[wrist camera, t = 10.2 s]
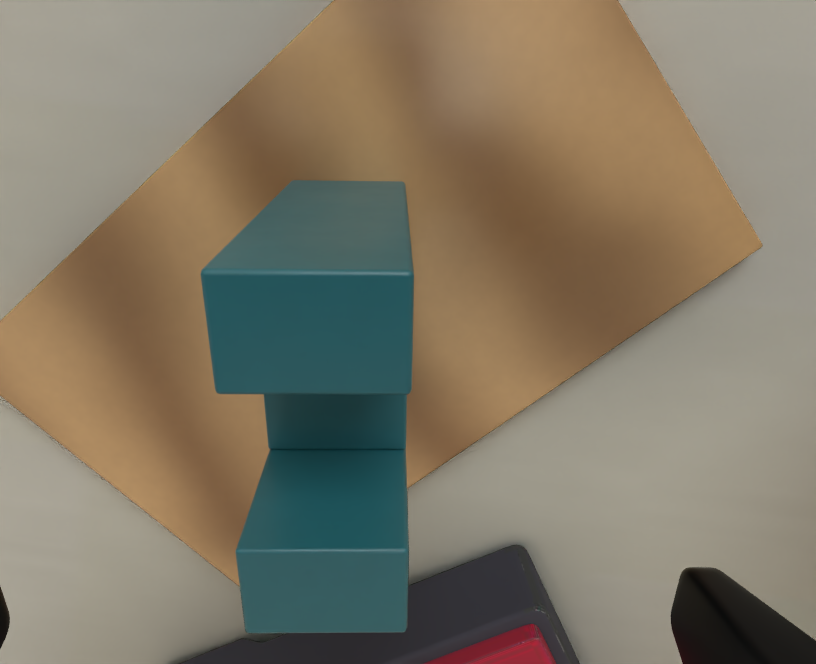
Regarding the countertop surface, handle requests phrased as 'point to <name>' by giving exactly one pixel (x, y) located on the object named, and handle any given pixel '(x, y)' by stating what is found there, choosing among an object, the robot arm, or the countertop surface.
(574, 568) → the countertop surface
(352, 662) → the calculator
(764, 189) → the countertop surface
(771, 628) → the robot arm
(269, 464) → the letter H
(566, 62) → the wooden board
